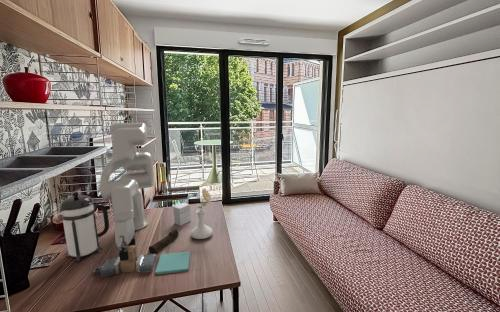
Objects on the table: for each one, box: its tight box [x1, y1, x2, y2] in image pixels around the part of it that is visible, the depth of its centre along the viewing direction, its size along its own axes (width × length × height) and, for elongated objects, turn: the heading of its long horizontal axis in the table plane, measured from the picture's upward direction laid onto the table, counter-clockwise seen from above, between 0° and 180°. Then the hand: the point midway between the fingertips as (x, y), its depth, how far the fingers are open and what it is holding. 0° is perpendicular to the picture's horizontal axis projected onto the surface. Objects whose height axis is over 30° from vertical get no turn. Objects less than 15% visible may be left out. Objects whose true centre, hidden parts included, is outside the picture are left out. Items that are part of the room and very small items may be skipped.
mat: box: [154, 251, 191, 275], centre depth 110 cm, size 13×13×1 cm
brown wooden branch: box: [148, 229, 180, 254], centre depth 125 cm, size 19×4×5 cm, turn 154°
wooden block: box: [120, 244, 138, 273], centre depth 106 cm, size 5×5×9 cm
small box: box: [172, 202, 192, 226], centre depth 149 cm, size 8×6×10 cm
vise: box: [92, 253, 158, 277], centre depth 107 cm, size 8×23×4 cm, turn 99°
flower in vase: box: [190, 188, 213, 240], centre depth 132 cm, size 13×11×25 cm
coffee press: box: [57, 191, 110, 263], centre depth 117 cm, size 17×16×30 cm
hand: (128, 253), depth 105 cm, fingers open, 9 cm apart
